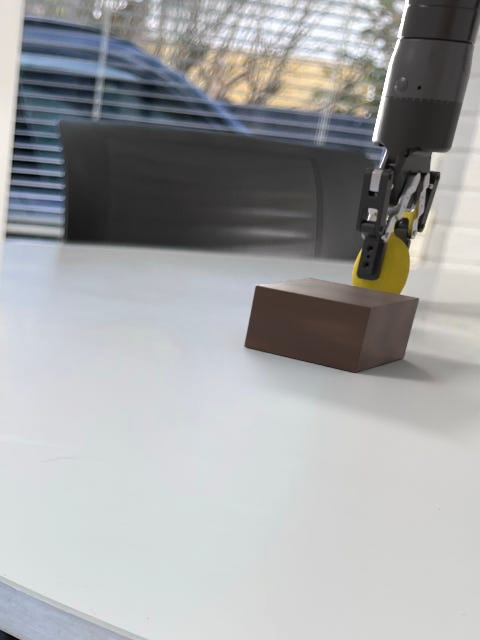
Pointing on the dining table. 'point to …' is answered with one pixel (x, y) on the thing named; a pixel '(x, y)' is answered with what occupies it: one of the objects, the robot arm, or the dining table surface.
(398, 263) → the lemon
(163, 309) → the dining table surface
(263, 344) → the block
